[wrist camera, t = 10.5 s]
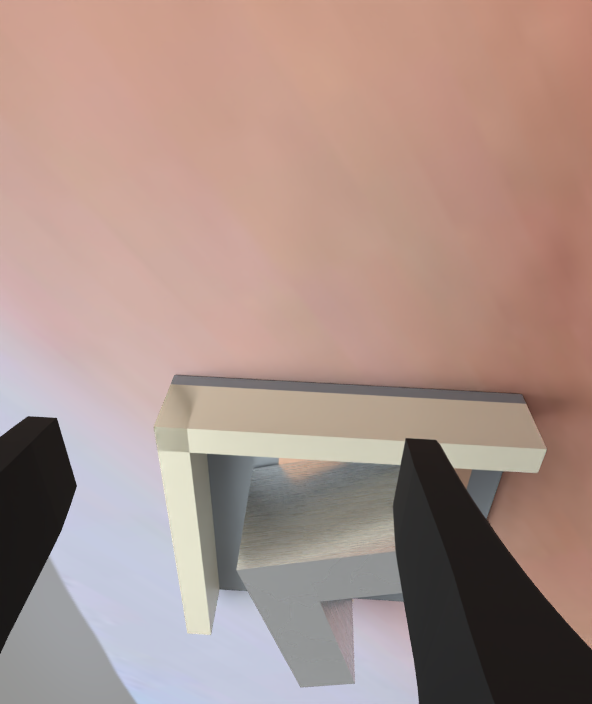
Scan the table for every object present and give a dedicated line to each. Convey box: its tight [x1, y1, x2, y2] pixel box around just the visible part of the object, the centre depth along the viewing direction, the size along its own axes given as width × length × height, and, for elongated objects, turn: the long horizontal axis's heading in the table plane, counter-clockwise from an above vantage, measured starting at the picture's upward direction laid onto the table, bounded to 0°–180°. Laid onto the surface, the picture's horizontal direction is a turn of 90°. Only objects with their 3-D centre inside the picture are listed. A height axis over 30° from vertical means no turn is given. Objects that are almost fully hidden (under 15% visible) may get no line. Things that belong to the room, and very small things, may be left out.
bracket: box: [236, 460, 402, 687], centre depth 24 cm, size 9×8×5 cm
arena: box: [154, 375, 547, 635], centre depth 25 cm, size 14×14×3 cm
